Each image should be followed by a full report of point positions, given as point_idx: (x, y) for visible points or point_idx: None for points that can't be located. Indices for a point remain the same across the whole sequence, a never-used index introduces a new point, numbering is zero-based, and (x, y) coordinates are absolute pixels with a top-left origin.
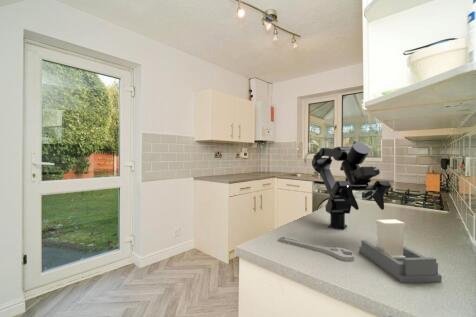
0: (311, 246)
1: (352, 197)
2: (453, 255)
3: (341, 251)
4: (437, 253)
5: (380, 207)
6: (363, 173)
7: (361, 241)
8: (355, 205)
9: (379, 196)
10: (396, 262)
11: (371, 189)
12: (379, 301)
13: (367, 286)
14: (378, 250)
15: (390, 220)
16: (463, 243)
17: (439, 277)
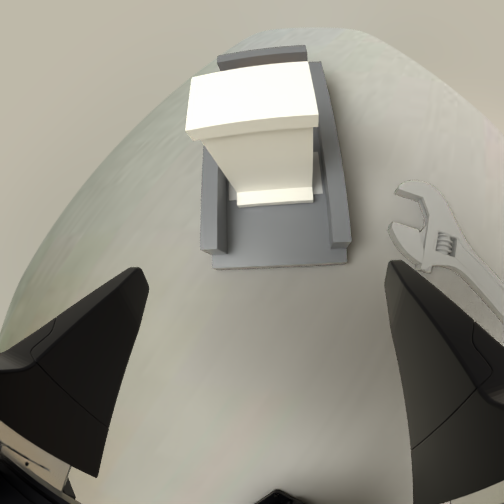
0: (499, 280)
1: (477, 336)
2: (72, 235)
3: (428, 226)
4: (92, 248)
5: (140, 305)
6: None
7: (350, 241)
8: (421, 282)
9: (60, 349)
10: (321, 69)
11: (53, 490)
12: (392, 47)
13: (401, 78)
14: (333, 136)
15: (234, 105)
16: (15, 308)
17: None
